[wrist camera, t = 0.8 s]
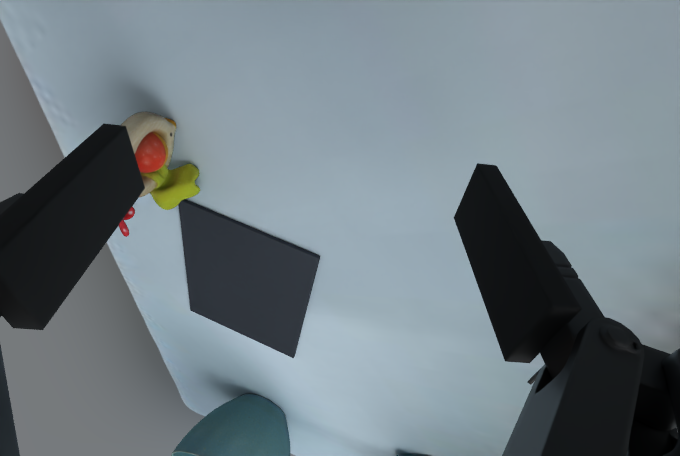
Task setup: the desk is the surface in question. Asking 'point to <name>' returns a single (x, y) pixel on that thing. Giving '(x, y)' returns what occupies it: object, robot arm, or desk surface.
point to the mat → (246, 277)
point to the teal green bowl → (239, 430)
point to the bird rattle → (158, 162)
